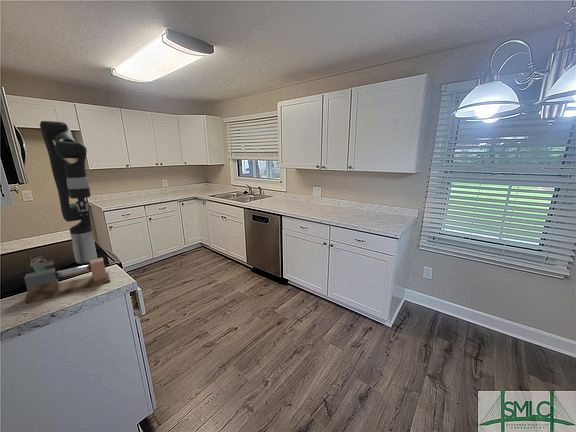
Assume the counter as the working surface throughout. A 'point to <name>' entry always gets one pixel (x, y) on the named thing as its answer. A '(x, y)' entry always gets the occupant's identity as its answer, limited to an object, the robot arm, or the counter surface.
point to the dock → (61, 288)
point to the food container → (41, 264)
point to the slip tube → (72, 271)
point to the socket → (98, 269)
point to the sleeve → (40, 277)
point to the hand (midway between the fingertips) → (85, 221)
